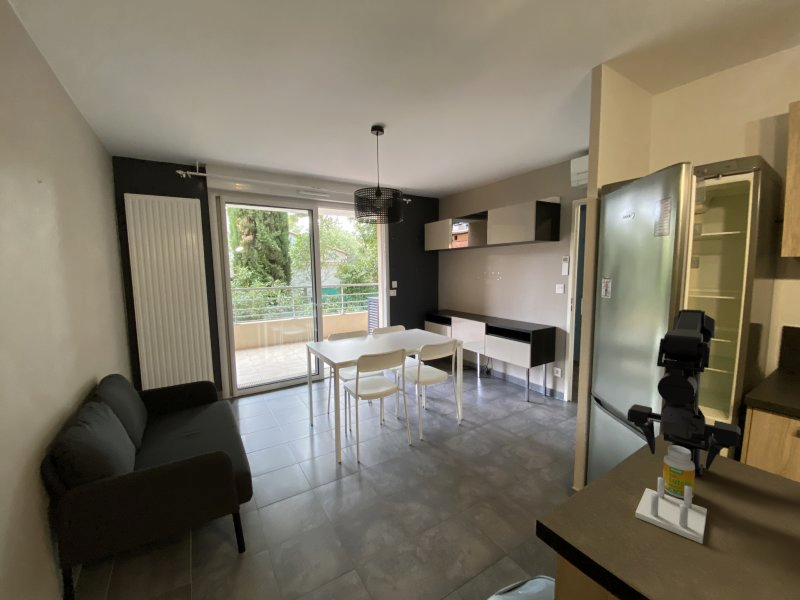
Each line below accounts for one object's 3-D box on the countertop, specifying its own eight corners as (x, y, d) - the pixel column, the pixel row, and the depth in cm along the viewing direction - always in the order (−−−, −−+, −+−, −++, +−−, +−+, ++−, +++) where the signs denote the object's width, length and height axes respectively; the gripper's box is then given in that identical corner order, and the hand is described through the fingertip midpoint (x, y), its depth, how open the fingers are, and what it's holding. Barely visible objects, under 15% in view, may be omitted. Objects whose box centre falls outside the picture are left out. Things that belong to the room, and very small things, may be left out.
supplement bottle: (665, 495, 74) (666, 452, 74) (660, 482, 79) (661, 441, 78) (697, 502, 72) (699, 457, 71) (690, 488, 76) (691, 446, 76)
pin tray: (646, 492, 75) (646, 470, 75) (706, 513, 68) (707, 489, 68) (635, 516, 68) (635, 492, 67) (702, 543, 60) (703, 517, 60)
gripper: (622, 391, 75) (620, 459, 76) (741, 413, 62) (738, 496, 63) (633, 380, 83) (631, 442, 84) (741, 398, 70) (738, 471, 71)
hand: (679, 461), depth 75 cm, fingers open, 9 cm apart
